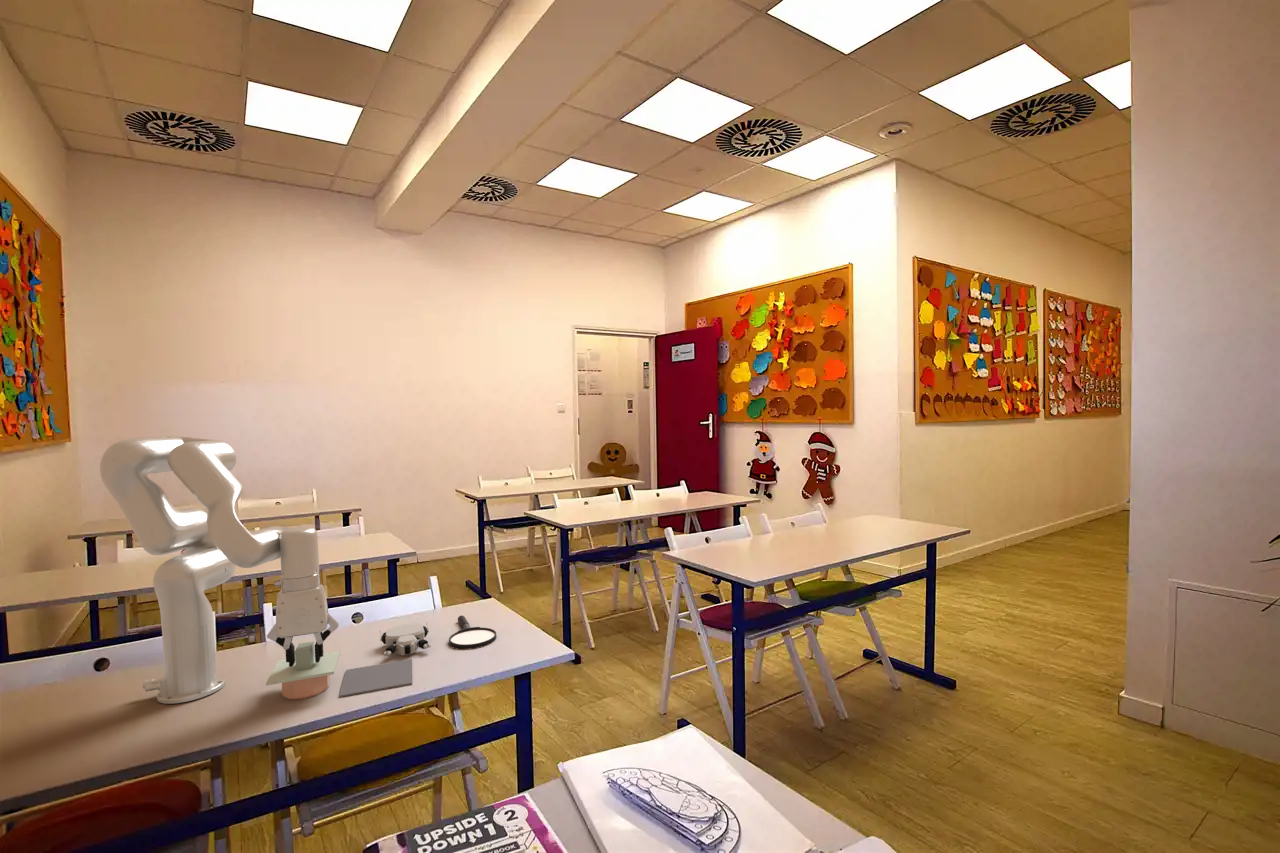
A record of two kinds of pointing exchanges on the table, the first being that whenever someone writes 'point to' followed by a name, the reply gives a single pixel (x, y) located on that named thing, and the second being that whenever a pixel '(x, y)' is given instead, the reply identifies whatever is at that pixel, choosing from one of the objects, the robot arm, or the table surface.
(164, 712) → the table surface
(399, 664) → the mat
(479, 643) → the magnifying glass
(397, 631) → the robot toy
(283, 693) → the bowl
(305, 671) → the cover
